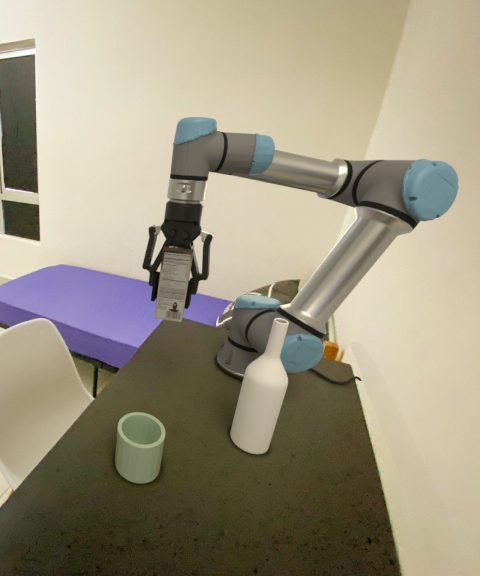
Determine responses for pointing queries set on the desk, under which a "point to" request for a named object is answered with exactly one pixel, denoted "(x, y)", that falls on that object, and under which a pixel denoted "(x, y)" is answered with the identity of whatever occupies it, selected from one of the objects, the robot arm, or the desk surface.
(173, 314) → the coffee box
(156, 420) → the cup
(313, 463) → the desk surface
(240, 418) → the bottle
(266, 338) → the robot arm
